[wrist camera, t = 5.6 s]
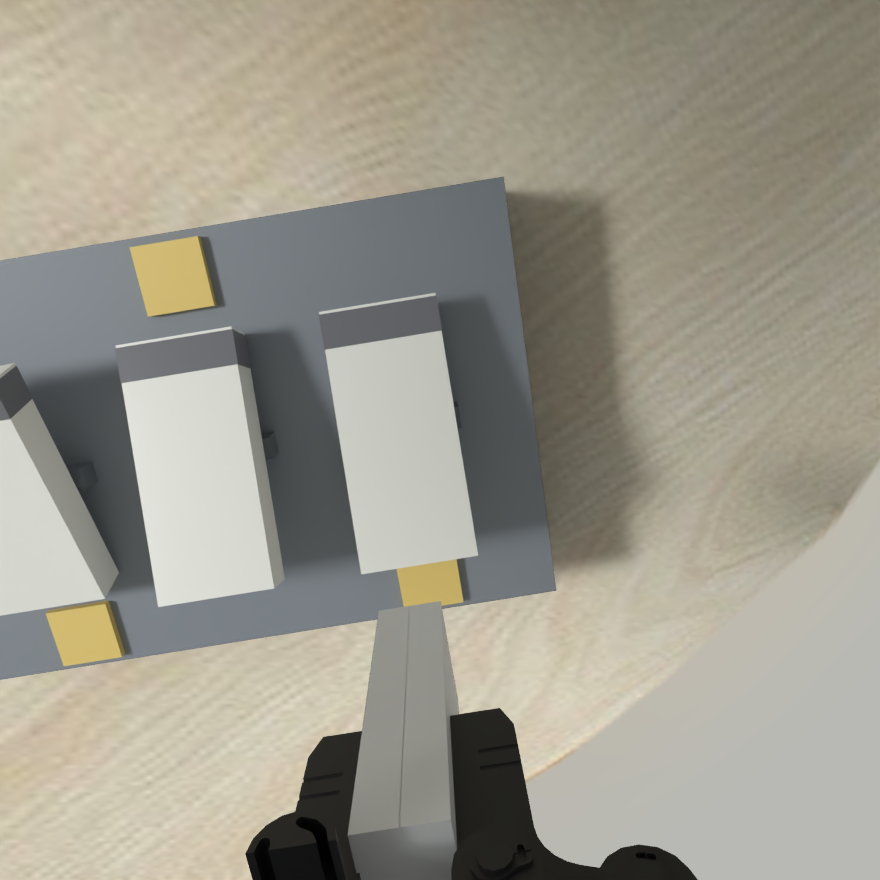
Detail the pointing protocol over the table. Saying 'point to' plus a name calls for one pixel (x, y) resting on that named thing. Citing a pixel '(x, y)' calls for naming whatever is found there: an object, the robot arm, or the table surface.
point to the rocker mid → (200, 465)
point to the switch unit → (279, 409)
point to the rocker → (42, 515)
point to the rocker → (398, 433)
